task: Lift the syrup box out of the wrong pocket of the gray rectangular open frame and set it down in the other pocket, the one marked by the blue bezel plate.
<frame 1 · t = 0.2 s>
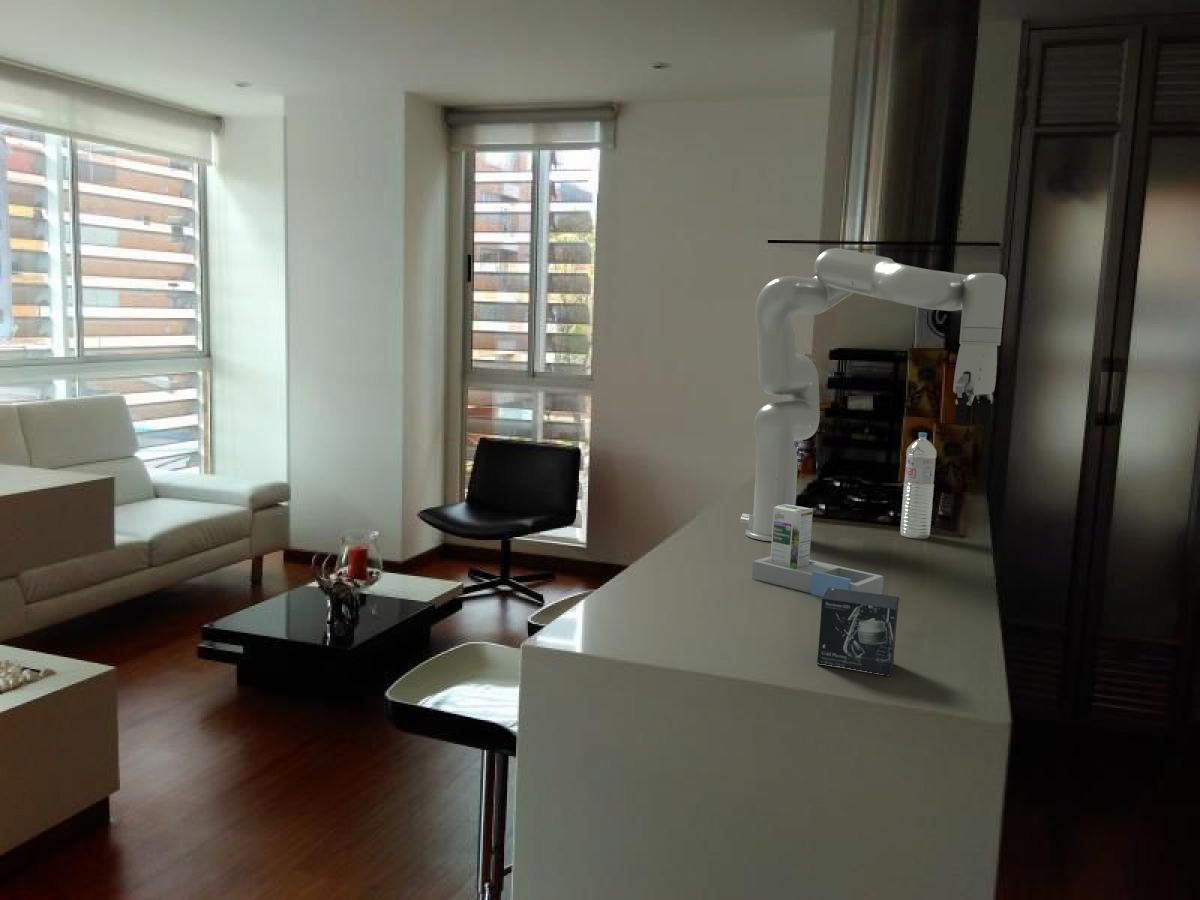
hand: (972, 424, 190), 31 cm above the countertop, fingers open, 9 cm apart
gray rectangular open frame: (815, 586, 183), on the countertop
water bottle: (914, 537, 230), on the countertop
syrup box: (788, 580, 187), resting in gray rectangular open frame
box: (855, 666, 142), on the countertop
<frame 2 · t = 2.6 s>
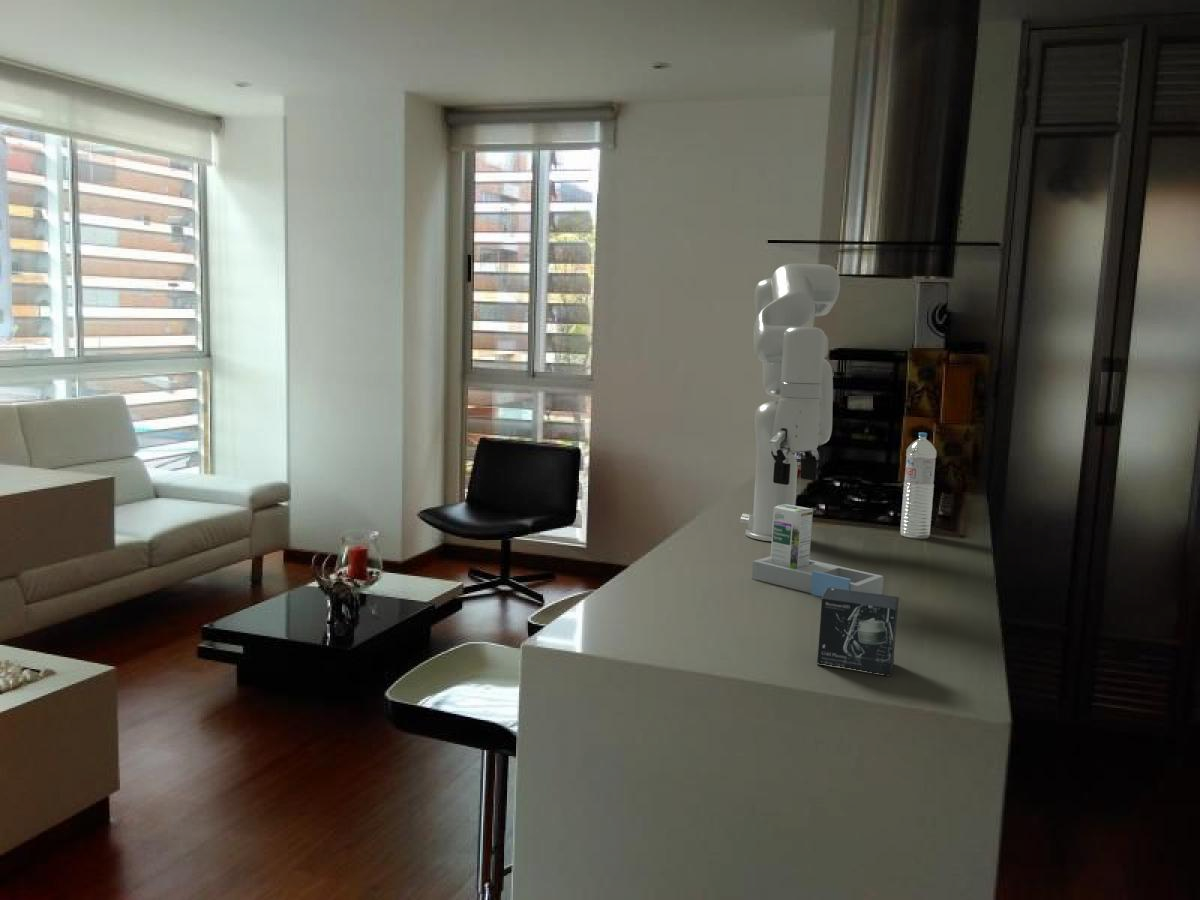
hand: (794, 481, 184), 20 cm above the countertop, fingers open, 9 cm apart
nothing on the countertop moved.
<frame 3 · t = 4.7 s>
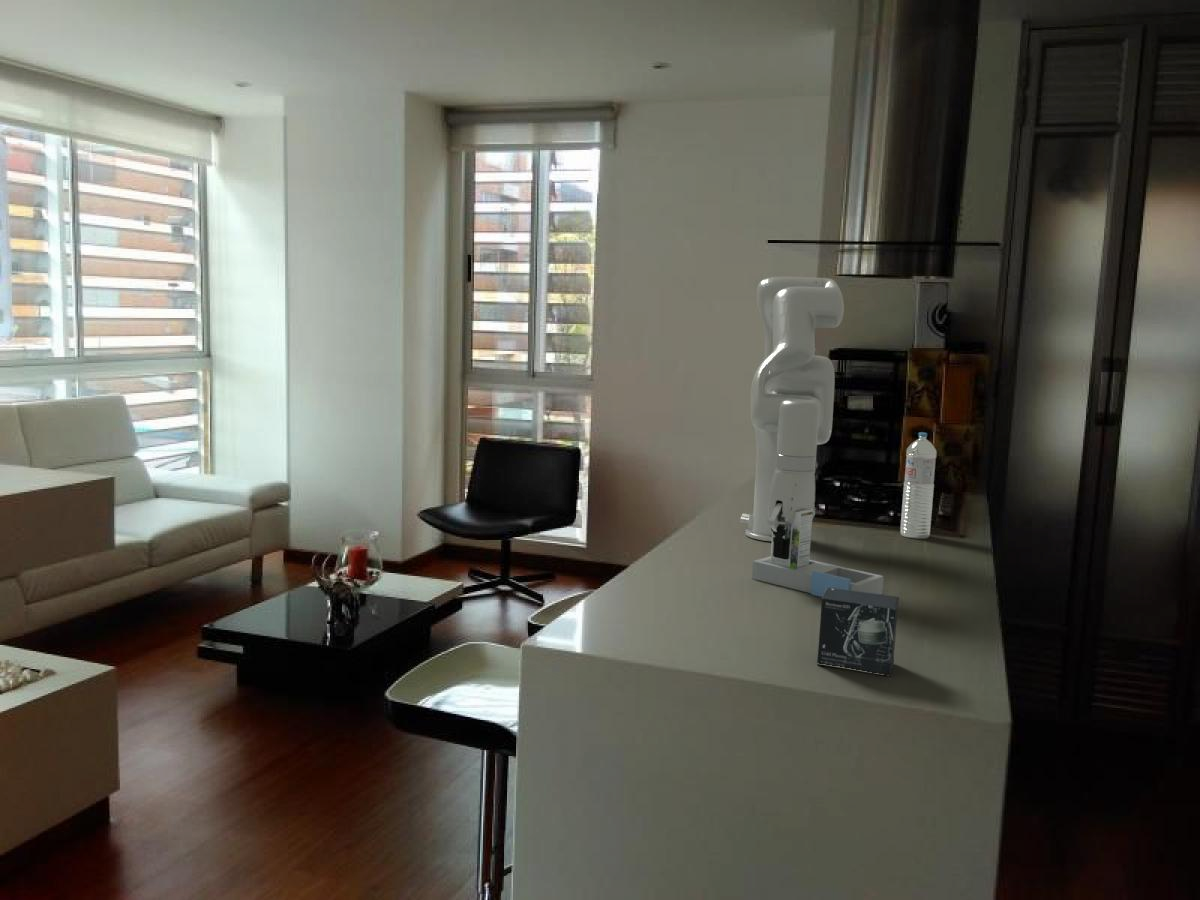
hand: (790, 554, 186), 5 cm above the countertop, fingers closed on syrup box, 5 cm apart
syrup box: (788, 580, 187), resting in gray rectangular open frame, touching gripper
everything else where it was.
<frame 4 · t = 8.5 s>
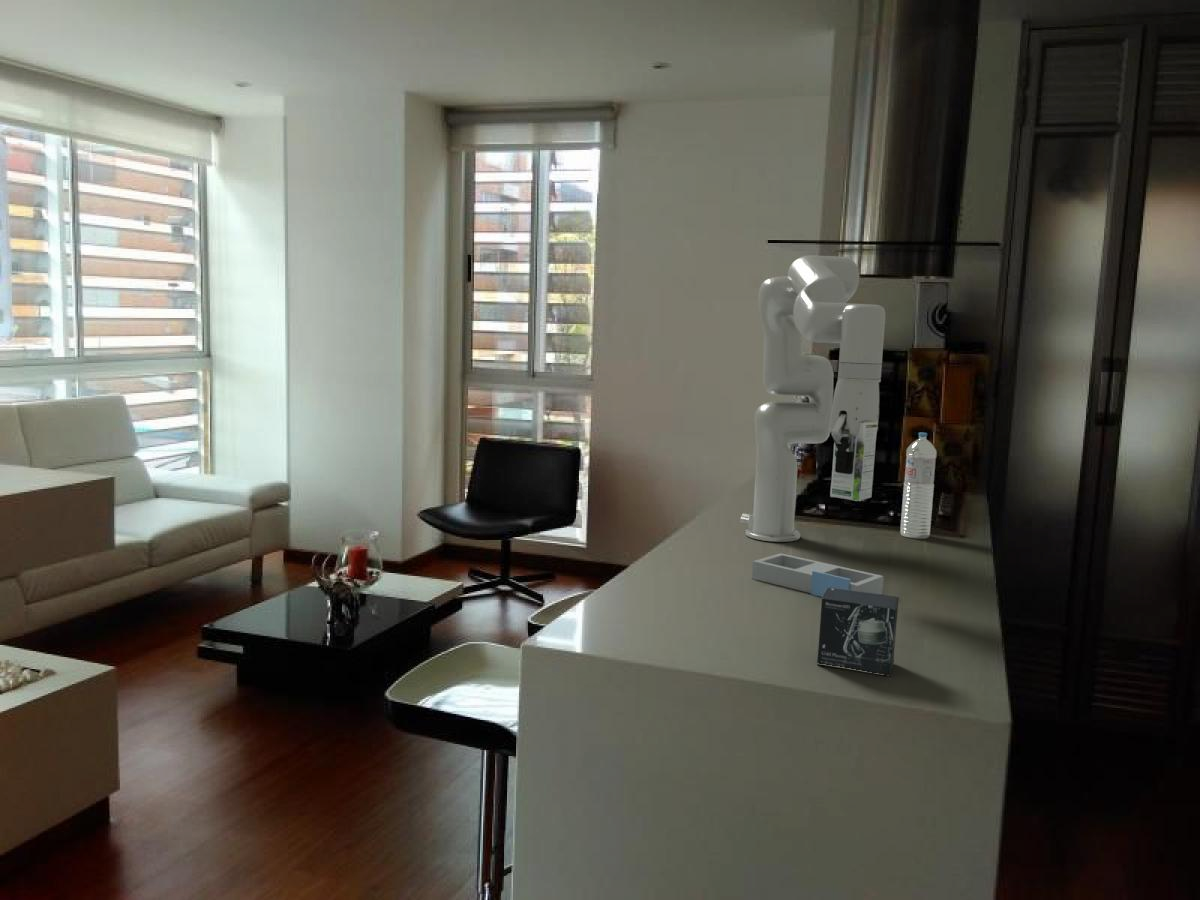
hand: (852, 470, 176), 23 cm above the countertop, fingers closed on syrup box, 5 cm apart
syrup box: (850, 498, 177), point 18 cm above the countertop, touching gripper
everything else where it was.
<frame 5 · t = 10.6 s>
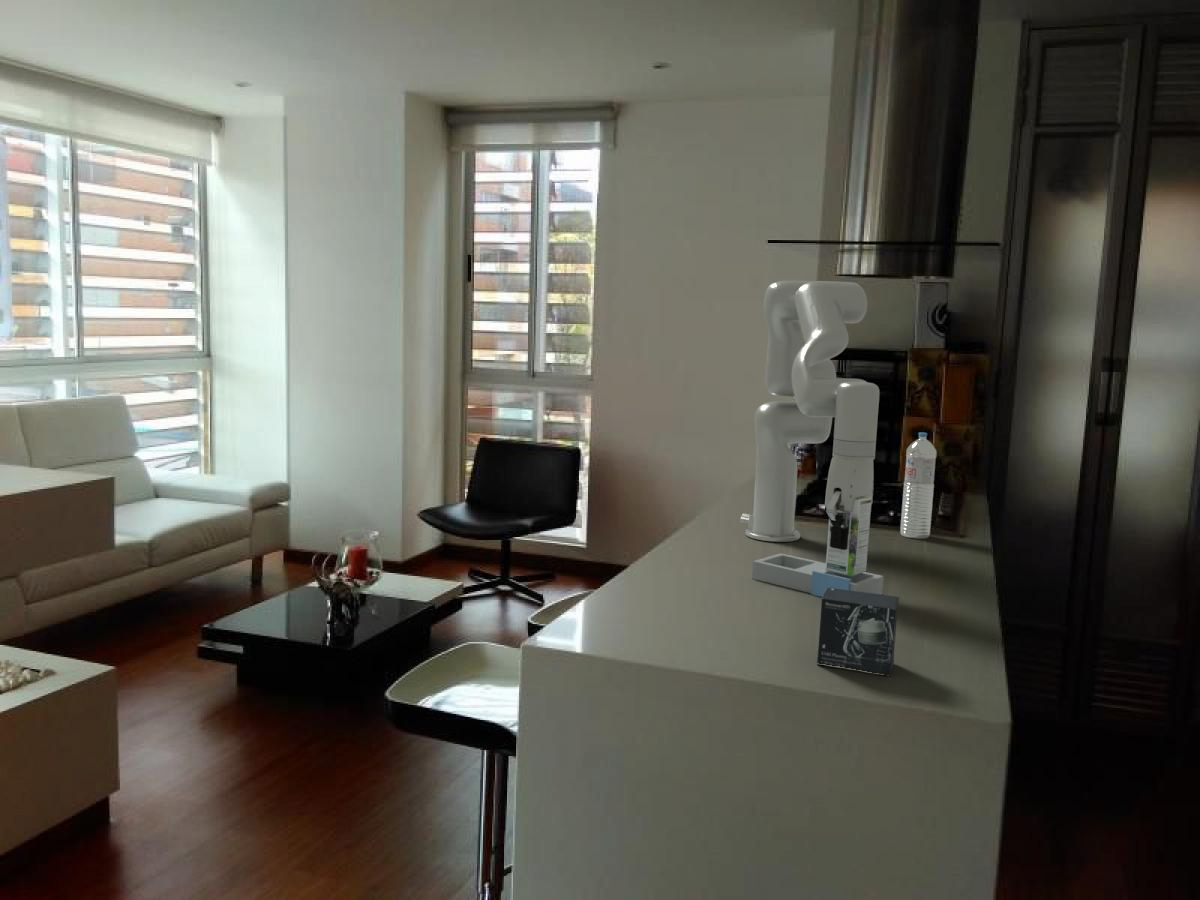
hand: (847, 544, 178), 9 cm above the countertop, fingers closed on syrup box, 5 cm apart
syrup box: (845, 572, 179), point 4 cm above the countertop, touching gripper
everything else where it was.
when the fingers open (6 cm above the countertop, at t = 12.2 s): syrup box drops 1 cm, resting in gray rectangular open frame.
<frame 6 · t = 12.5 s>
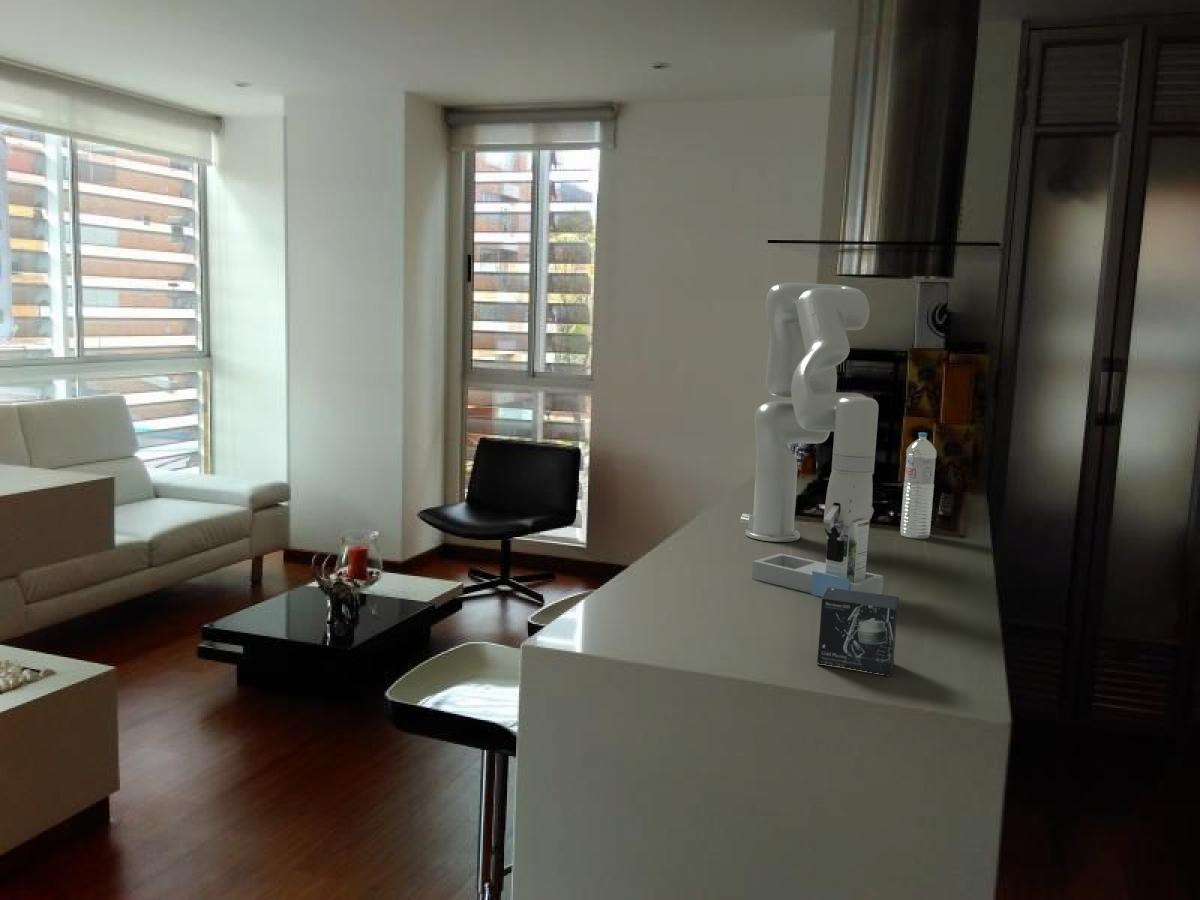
hand: (846, 556, 178), 7 cm above the countertop, fingers open, 8 cm apart
syrup box: (843, 593, 180), resting in gray rectangular open frame
everything else where it was.
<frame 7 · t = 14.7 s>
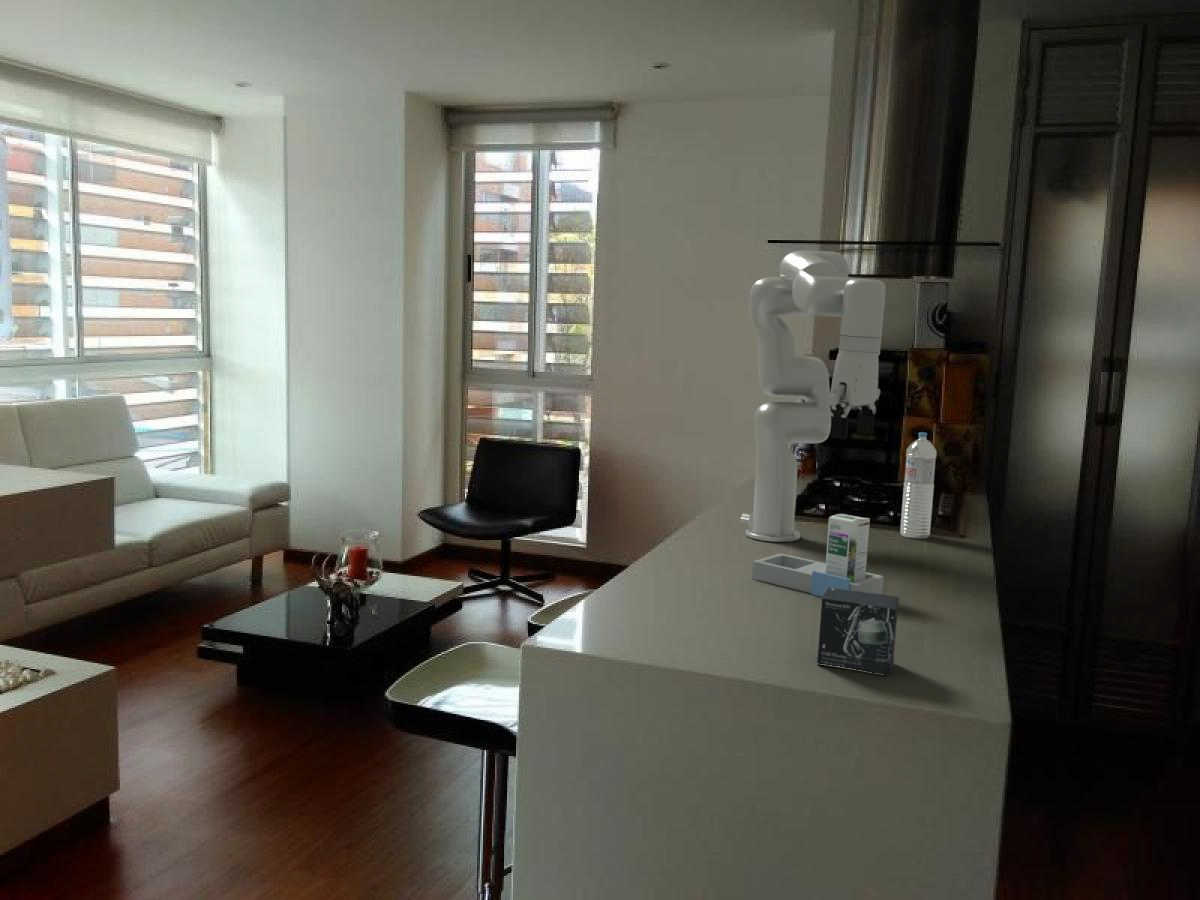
hand: (851, 435, 183), 29 cm above the countertop, fingers open, 9 cm apart
nothing on the countertop moved.
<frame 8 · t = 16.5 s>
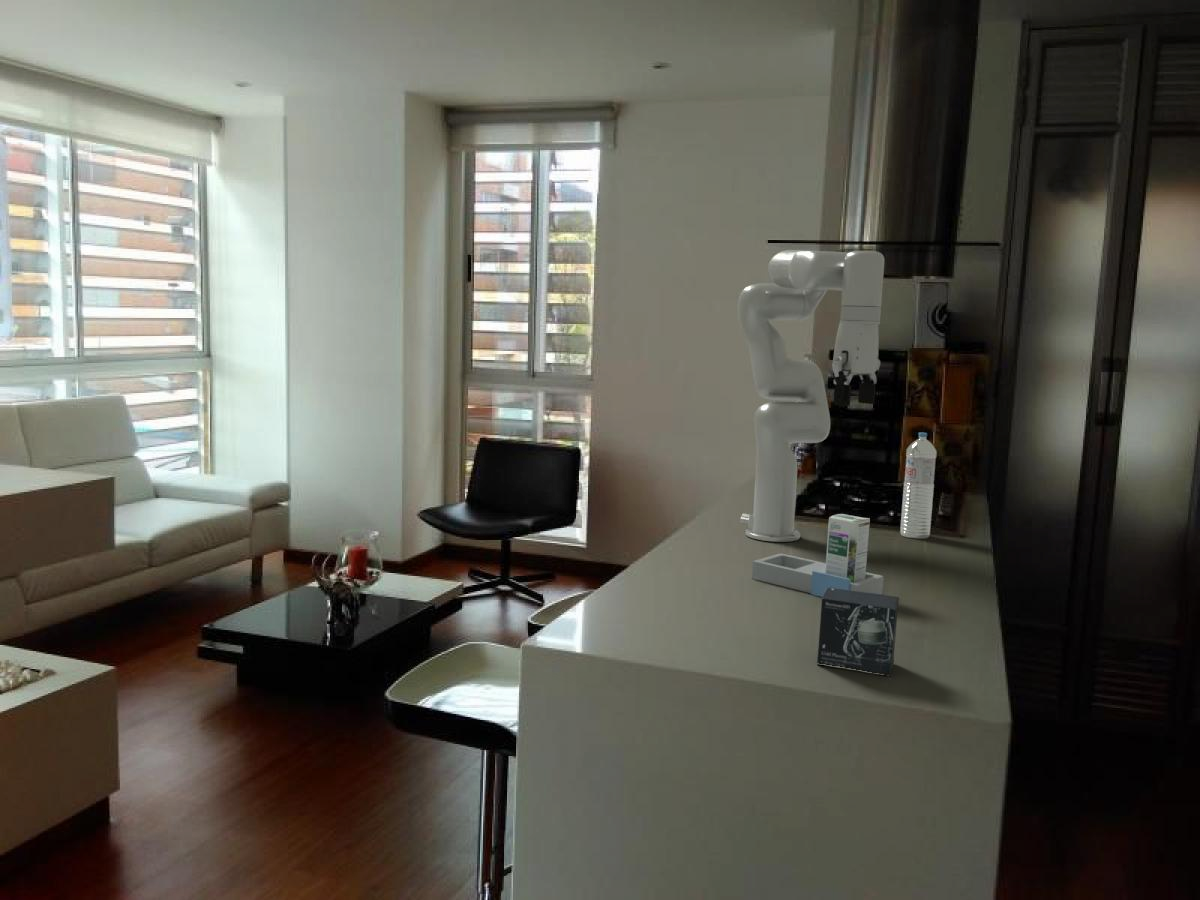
hand: (854, 404, 188), 34 cm above the countertop, fingers open, 9 cm apart
nothing on the countertop moved.
at the end: syrup box 0.4 cm from the target spot on the gray rectangular open frame, point 0.0 cm above the gray rectangular open frame's base; syrup box tilted 0°; the gripper is holding nothing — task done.
